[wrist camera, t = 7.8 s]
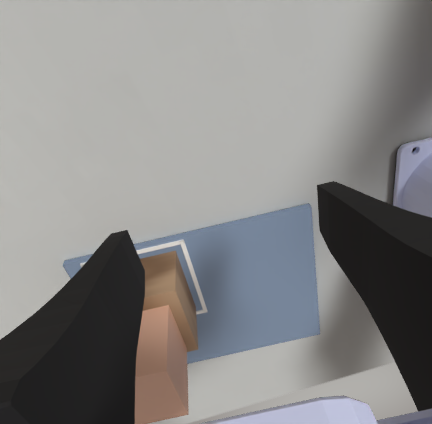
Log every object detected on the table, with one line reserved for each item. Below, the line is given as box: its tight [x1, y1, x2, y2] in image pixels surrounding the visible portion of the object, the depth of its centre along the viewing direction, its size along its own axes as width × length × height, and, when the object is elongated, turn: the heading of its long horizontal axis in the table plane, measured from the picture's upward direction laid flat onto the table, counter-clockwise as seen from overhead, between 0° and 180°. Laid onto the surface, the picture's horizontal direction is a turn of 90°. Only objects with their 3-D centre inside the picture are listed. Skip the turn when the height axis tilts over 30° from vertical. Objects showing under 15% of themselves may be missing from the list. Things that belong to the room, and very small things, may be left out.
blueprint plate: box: [63, 204, 320, 364], centre depth 27 cm, size 18×14×1 cm
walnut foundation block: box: [140, 251, 198, 352], centre depth 24 cm, size 6×6×4 cm
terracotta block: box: [135, 305, 188, 424], centre depth 20 cm, size 4×4×4 cm
